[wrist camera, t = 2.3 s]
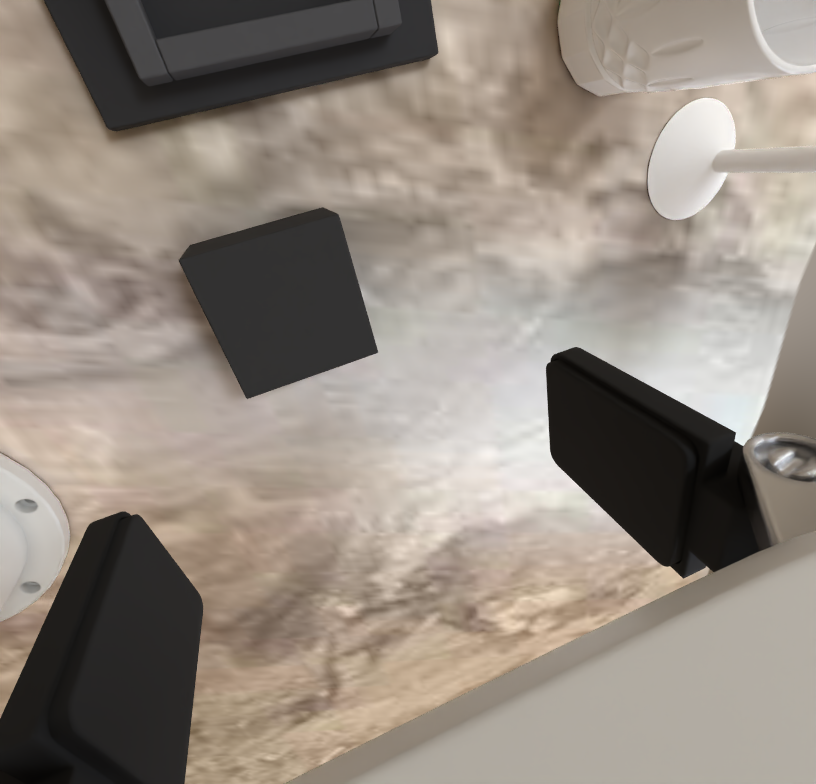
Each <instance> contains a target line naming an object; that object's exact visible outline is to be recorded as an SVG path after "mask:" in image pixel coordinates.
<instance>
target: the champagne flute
mask: <svg viewBox="0 0 816 784" xmlns="http://www.w3.org/2000/svg"><path fill="white" fill-rule="evenodd" d="M735 139H736V132H735V125H734V121H733V118H732V115H731V113H730V111H729V110H728V108H727V107H726V105H724V104H723V103H722V102H721V101H719V100H717V99H714V98H701V99H697V100H694V101H692V102H690V103H688V104H687V105H685V106H684V107H683V108H681V109H680V110H679V111H678V112H677V113H676V114H675V115H674V116H673V117H672V118H671V119H670V120H669V122H668V123H667V124H666V126H665V127H664V129H663V131H662V132H661V134H660V136H659V138H658V140H657V142H656V144H655V146H654V149H653V152H652V155H651V159H650V164H649V169H648V192H649V196H650V199H651V202H652V204H653V206H654V208H655V210H656V211H657V212H658V213H659V214H660V215H662V216H663V217H665V218H667V219H671V220H682V219H685V218H688V217H691V216H692V215H694V214H696V213H698V212H699V211H700V210H702V209H703V208H704V207H705V206H706V205H707V204H708V203H709V202H710V201H711V200H712V199H713V198H714V196H715V195H716V193H717V192H718V191H719V189H720V188H721V186H722V184H723V182H724V180H725V179H726V176H727V174H728V173H816V146H797V147H776V148H756V149H736V150H735Z"/></svg>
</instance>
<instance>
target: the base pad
mask: <svg viewBox="0 0 816 784" xmlns="http://www.w3.org/2000/svg"><path fill="white" fill-rule="evenodd" d="M44 2H45V4H46V6H47V8H48V10H49V12H50V14H51V16H52V18H53V20H54V22H55V24H56V26H57V28H58V30H59V32H60V34H61V36H62V38H63V40H64V42H65V44H66V46H67V48H68V50H69V52H70V54H71V56H72V58H73V60H74V62H75V64H76V66H77V68H78V70H79V72H80V74H81V76H82V78H83V80H84V82H85V84H86V86H87V88H88V90H89V92H90V94H91V96H92V98H93V100H94V102H95V104H96V106H97V108H98V110H99V112H100V114H101V116H102V118H103V120H104V122H105V124H106V126H107V128H108V129H109V130H112V131H120V130H125V129H129V128H133V127H138V126H142V125H146V124H151V123H155V122H159V121H163V120H168V119H172V118H176V117H181V116H185V115H189V114H194V113H198V112H202V111H207V110H211V109H215V108H219V107H224V106H228V105H232V104H237V103H241V102H245V101H250V100H254V99H258V98H262V97H267V96H271V95H275V94H280V93H284V92H288V91H293V90H297V89H301V88H306V87H310V86H314V85H318V84H323V83H327V82H331V81H336V80H340V79H344V78H349V77H353V76H357V75H361V74H366V73H370V72H374V71H379V70H383V69H387V68H392V67H396V66H400V65H404V64H409V63H413V62H417V61H422V60H426V59H430V58H432V57H433V56H435V55H437V54H438V47H437V40H436V33H435V26H434V20H433V13H432V6H431V0H44Z"/></svg>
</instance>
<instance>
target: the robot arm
mask: <svg viewBox="0 0 816 784" xmlns="http://www.w3.org/2000/svg"><path fill="white" fill-rule="evenodd" d="M546 378H547V397H548V417H549V436H550V452H551V455H552V458H553V460H554V461H555V463H556V464H557V465H558V466H559V467H560V468H561V469H562V470H563V471H564V472H565V473H566V474H567V475H568V476H569V477H570V478H571V479H572V480H573V481H574V482H575V483H577V484H578V485H579V486H580V487H581V488H582V489H583V490H584V491H585V492H586V493H587V494H588V495H589V496H590V497H591V498H592V499H593V500H594V501H595V502H596V503H597V504H598V505H599V506H600V507H601V508H602V509H603V510H604V511H606V512H607V513H608V514H609V515H610V516H611V517H612V518H613V519H614V520H615V521H616V522H617V523H618V524H619V525H620V526H621V527H622V528H623V529H624V530H625V531H626V532H627V533H628V534H629V535H630V536H631V537H632V538H634V539H635V540H636V541H637V542H638V543H639V544H640V545H641V546H642V547H643V548H644V549H645V550H646V551H647V552H648V553H649V554H650V555H651V556H652V557H653V558H654V559H655V560H656V561H657V562H659V563H660V564H661V565H663V566H666V567H668V566H671V567H672V568H673V569H674V570H675V571H676V572H677V573H678V574H679V575H680V576H681V577H682V578H683V579H684V578H686V577H688V576H690V575H692V574H694V573H696V572H698V571H700V570H702V569H704V568H705V567H706V566H707V567H708V568H710V569H711V570H712V571H713V572H714V573H712V574H710V575H707V576H705V577H703V578H701V579H699V580H697V581H694V582H692V583H690V584H688V585H686V586H684V587H682V588H679V589H677V590H675V591H673V592H671V593H669V594H667V595H665V596H663V597H661V598H659V599H657V600H655V601H653V602H651V603H649V604H647V605H645V606H643V607H640V608H638V609H636V610H634V611H632V612H630V613H628V614H626V615H624V616H622V617H620V618H618V619H616V620H614V621H612V622H610V623H608V624H606V625H604V626H602V627H599V628H597V629H595V630H593V631H591V632H589V633H587V634H585V635H583V636H581V637H579V638H577V639H575V640H573V641H571V642H569V643H567V644H565V645H563V646H560V647H558V648H556V649H554V650H552V651H550V652H548V653H546V654H544V655H542V656H540V657H538V658H536V659H534V660H532V661H530V662H528V663H526V664H524V665H522V666H520V667H518V668H516V669H514V670H512V671H510V672H508V673H506V674H504V675H502V676H500V677H498V678H496V679H494V680H492V681H489V682H487V683H485V684H483V685H481V686H479V687H477V688H475V689H473V690H471V691H469V692H467V693H465V694H463V695H461V696H459V697H457V698H455V699H453V700H451V701H449V702H447V703H445V704H443V705H441V706H439V707H437V708H435V709H433V710H431V711H429V712H427V713H425V714H423V715H421V716H419V717H417V718H415V719H413V720H411V721H409V722H407V723H405V724H403V725H401V726H399V727H397V728H395V729H392V730H390V731H388V732H386V733H384V734H382V735H380V736H378V737H376V738H374V739H372V740H370V741H368V742H366V743H364V744H362V745H360V746H358V747H356V748H354V749H352V750H350V751H348V752H346V753H344V754H342V755H340V756H338V757H336V758H334V759H332V760H330V761H328V762H326V763H324V764H322V765H320V766H318V767H316V768H314V769H312V770H310V771H308V772H306V773H304V774H302V775H300V776H298V777H296V778H295V779H293V780H291V781H289V782H287V783H285V784H816V439H814V438H810V437H807V436H803V435H799V434H791V433H766V434H761V435H757V436H755V437H753V438H751V439H749V440H748V441H747V442H746V444H745V445H744V446H742V445H740V444H738V443H737V442H735V441H734V439H735V435H736V432H734V431H732V430H730V429H728V428H726V427H725V426H723V425H721V424H719V423H717V422H715V421H713V420H712V419H710V418H708V417H706V416H704V415H702V414H701V413H699V412H697V411H695V410H693V409H691V408H690V407H688V406H686V405H684V404H682V403H680V402H679V401H677V400H675V399H673V398H671V397H669V396H667V395H666V394H664V393H662V392H660V391H658V390H656V389H655V388H653V387H651V386H649V385H647V384H645V383H644V382H642V381H640V380H638V379H636V378H634V377H632V376H631V375H629V374H627V373H625V372H623V371H621V370H620V369H618V368H616V367H614V366H612V365H610V364H609V363H607V362H605V361H603V360H601V359H599V358H597V357H596V356H594V355H592V354H590V353H588V352H586V351H585V350H583V349H581V348H578V347H574V348H571V349H568V350H565V351H563V352H560V353H557V354H554V355H553V356H552V358H551V362H550V363H548V364H547V366H546ZM69 542H70V530H69V524H68V518H67V516H66V514H65V512H64V510H63V507H62V505H61V503H60V501H59V500H58V499H57V497H56V496H55V495H54V494H53V492H52V491H51V490H50V489H49V487H48V486H47V485H46V484H45V483H44V482H43V481H41V480H40V479H39V478H38V477H37V476H35V475H34V474H33V473H32V472H31V471H29V470H28V469H27V468H25V467H24V466H22V465H20V464H18V463H17V462H15V461H13V460H12V459H10V458H8V457H7V456H5V455H3V454H1V453H0V622H1V621H3V620H6V619H8V618H10V617H12V616H14V615H16V614H18V613H19V612H21V611H22V610H24V609H25V608H27V607H28V606H30V605H31V604H33V603H34V602H35V601H37V600H38V599H39V598H40V597H41V596H42V595H43V594H44V593H45V592H46V591H47V590H48V589H49V588H50V586H51V585H52V583H53V582H54V580H55V578H56V577H57V575H58V574H59V572H60V570H61V568H62V565H63V563H64V561H65V558H66V556H67V554H68V549H69ZM202 616H203V603H202V599H201V597H200V594H199V593H198V591H197V590H196V589H195V587H194V586H193V585H192V583H191V582H190V581H189V579H188V578H187V577H186V575H185V574H184V573H183V571H182V570H181V569H180V567H179V566H178V565H177V563H176V562H175V561H174V559H173V558H172V557H171V555H170V554H169V553H168V551H167V550H166V549H165V547H164V546H163V545H162V544H161V542H160V541H159V540H158V538H157V537H156V536H155V534H154V533H153V532H152V530H151V529H150V528H149V526H148V525H147V524H146V522H145V521H144V520H143V518H142V517H141V516H139V515H137V514H135V515H132V516H131V515H130V514H129V513H127V512H119V513H116V514H114V515H111V516H108V517H105V518H103V519H100V520H97V521H94V522H92V523H91V524H90V525H89V526H88V528H87V530H86V532H85V534H84V536H83V538H82V541H81V543H80V545H79V547H78V549H77V552H76V554H75V556H74V558H73V560H72V562H71V565H70V567H69V569H68V571H67V573H66V576H65V578H64V580H63V582H62V584H61V587H60V589H59V591H58V593H57V595H56V598H55V600H54V602H53V604H52V606H51V609H50V611H49V613H48V615H47V617H46V620H45V622H44V624H43V626H42V628H41V631H40V633H39V635H38V637H37V639H36V641H35V644H34V646H33V648H32V650H31V652H30V655H29V657H28V659H27V661H26V663H25V666H24V668H23V670H22V672H21V674H20V677H19V679H18V681H17V683H16V685H15V688H14V690H13V692H12V694H11V696H10V699H9V701H8V703H7V705H6V707H5V710H4V712H3V714H2V716H1V718H0V784H184V782H185V773H186V764H187V755H188V745H189V736H190V727H191V717H192V708H193V699H194V690H195V680H196V671H197V662H198V653H199V643H200V634H201V625H202Z"/></svg>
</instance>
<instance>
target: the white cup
mask: <svg viewBox="0 0 816 784" xmlns="http://www.w3.org/2000/svg"><path fill="white" fill-rule="evenodd" d="M557 24H558V32H559V39H560V47H561V54H562V59H563V61H564V63H565V64H566V66H567V68H568V70H569V72H570V73H571V75H572V77H573V79H574V80H575V82H576V84H577V85H579V86H580V87H582V88H584V89H586V90H588V91H589V92H591V93H593V94H595V95H597V96H607V95H613V94H620V93H627V92H646V93H654V92H666V91H676V90H681V89H698V88H706V87H711V86H718V85H725V84H733V83H741V82H749V81H758V80H766V79H773V78H781V77H789V76H797V75H805V74H811V73H815V72H816V0H561V2H560V8H559V14H558V20H557Z"/></svg>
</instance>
